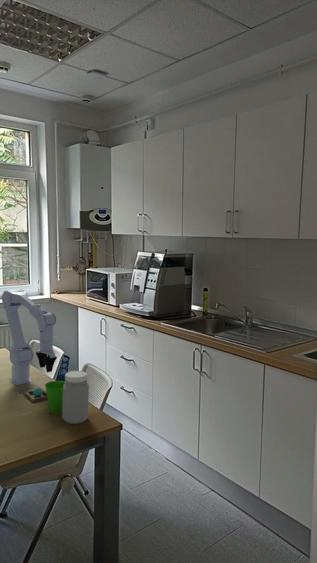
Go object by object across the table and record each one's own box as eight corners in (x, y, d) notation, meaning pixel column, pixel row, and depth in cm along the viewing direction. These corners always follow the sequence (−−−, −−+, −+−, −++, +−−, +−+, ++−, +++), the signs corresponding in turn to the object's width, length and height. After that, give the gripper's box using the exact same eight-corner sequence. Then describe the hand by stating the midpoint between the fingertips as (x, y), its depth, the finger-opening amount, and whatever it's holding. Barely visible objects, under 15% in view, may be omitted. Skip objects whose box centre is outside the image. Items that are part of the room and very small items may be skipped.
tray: (24, 395, 179) (24, 391, 179) (42, 392, 184) (42, 388, 184) (32, 403, 171) (32, 399, 171) (51, 399, 176) (51, 395, 176)
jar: (60, 415, 161) (61, 370, 159) (85, 413, 164) (86, 369, 162) (64, 426, 152) (65, 379, 150) (90, 423, 155) (91, 377, 153)
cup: (70, 407, 169) (71, 381, 168) (63, 416, 160) (63, 389, 159) (49, 405, 170) (49, 379, 169) (40, 414, 161) (41, 387, 160)
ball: (31, 395, 178) (31, 386, 177) (40, 393, 180) (40, 385, 180) (34, 399, 175) (35, 390, 174) (43, 397, 177) (44, 388, 177)
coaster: (17, 391, 183) (17, 391, 183) (28, 389, 186) (28, 388, 186) (21, 395, 179) (21, 394, 179) (32, 393, 182) (32, 392, 182)
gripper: (31, 337, 187) (31, 366, 188) (44, 344, 175) (43, 375, 177) (46, 335, 191) (46, 364, 193) (59, 342, 180) (58, 372, 181)
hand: (45, 369), depth 185 cm, fingers open, 7 cm apart
